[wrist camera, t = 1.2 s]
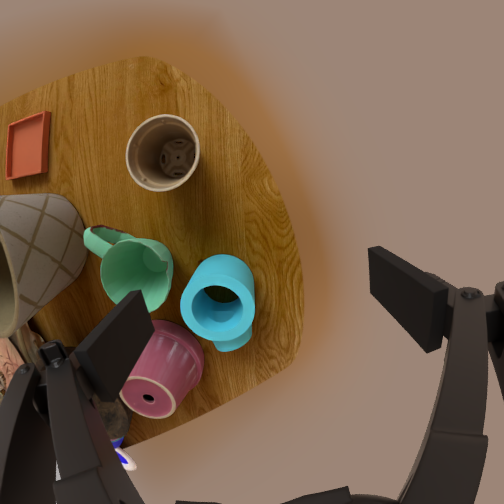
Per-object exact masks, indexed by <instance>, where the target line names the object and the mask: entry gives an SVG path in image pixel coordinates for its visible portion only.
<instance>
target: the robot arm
mask: <svg viewBox="0 0 504 504" xmlns="http://www.w3.org/2000/svg"><path fill="white" fill-rule="evenodd" d="M368 258H369V275H370V293H371V294H372V295H373V296H374V297H375V298H376V299H377V300H378V301H379V302H380V303H381V305H382V306H383V307H384V308H385V309H386V310H387V311H388V312H389V313H390V314H391V315H392V316H393V317H394V318H395V319H396V320H397V321H398V323H399V324H400V325H401V326H402V327H403V328H404V329H405V330H406V331H407V332H408V333H409V334H410V335H411V337H412V338H413V339H414V340H415V341H416V342H417V343H418V344H419V345H420V347H421V348H422V349H423V350H424V351H425V352H426V353H429V352H432V351H434V350H436V349H439V348H441V344H442V339H443V336H444V337H446V338H447V339H448V344H447V349H446V354H445V359H444V366H443V371H442V375H441V380H440V384H439V388H438V393H437V396H436V400H435V404H434V408H433V411H432V414H431V417H430V421H429V424H428V427H427V430H426V433H425V436H424V439H423V442H422V444H421V447H420V450H419V452H418V455H417V457H416V460H415V463H414V465H413V467H412V470H411V472H410V474H409V476H408V479H407V480H406V483H405V485H404V487H403V489H402V491H401V492H400V494H399V496H398V498H397V500H393V499H390V498H387V497H382V496H377V495H368V494H367V495H365V494H355V495H350V492H349V488H348V486H345V487H342V488H338V489H333V490H329V491H325V492H320V493H315V494H309V495H304V496H302V497H299V498H296V499H293V500H291V501H288V502H285V503H282V504H474V501H475V498H476V495H477V491H478V487H479V484H480V480H481V476H482V472H483V467H484V463H485V458H486V452H487V447H488V437H487V435H483V427H484V420H485V411H486V399H487V385H488V351H489V354H490V356H491V359H492V362H493V365H494V368H495V372H496V374H497V378H498V381H499V385H500V389H501V393H502V396H503V400H504V281H503V282H499V283H497V284H496V286H495V293H494V294H493V295H487V296H484V295H483V293H482V292H481V291H480V290H479V289H476V288H471V287H463V288H460V289H457V288H456V287H454V286H453V285H451V284H449V283H447V282H445V280H443V279H440V277H438V276H436V275H435V274H431V273H428V272H423V271H422V270H420V269H418V268H417V267H415V266H413V265H412V264H410V263H408V262H407V261H405V260H403V259H402V258H400V257H398V256H396V255H395V254H393V253H391V252H389V251H388V250H386V249H384V248H383V247H381V246H376V247H371V248H368ZM154 332H155V328H154V326H153V323H152V320H151V317H150V314H149V311H148V309H147V306H146V303H145V300H144V297H143V293H142V290H141V289H140V290H134V291H130V292H129V293H128V294H127V295H126V296H125V297H124V298H123V299H122V300H121V301H120V302H119V303H118V304H117V305H116V306H115V307H114V308H113V309H112V310H111V311H110V312H109V313H108V314H107V315H106V316H105V317H104V318H103V319H102V321H101V322H100V323H99V324H98V325H97V326H96V327H95V328H94V329H93V330H92V331H91V332H90V333H89V334H88V335H87V337H86V338H85V339H84V340H83V341H82V342H81V343H80V344H79V345H78V346H77V347H76V349H75V350H74V351H73V352H72V353H71V354H70V355H69V356H68V354H67V352H66V350H65V348H64V346H63V344H62V342H61V340H52V341H49V342H47V343H45V344H43V345H42V346H41V347H40V348H39V349H38V351H37V352H38V354H39V356H40V358H41V360H42V362H43V364H44V366H45V367H46V370H44V371H38V369H37V368H36V366H35V364H34V363H26V364H22V365H20V366H19V368H18V369H17V370H16V371H15V373H14V375H13V377H12V379H11V381H10V383H9V386H8V388H7V390H6V392H5V395H4V397H3V399H2V402H1V404H0V504H56V502H57V504H145V503H144V502H143V500H142V498H141V497H140V495H139V493H138V492H137V490H136V488H135V487H134V485H133V483H132V481H131V480H130V478H129V476H128V474H127V473H126V470H125V469H124V467H123V465H122V463H121V461H120V459H119V457H118V455H117V453H116V451H115V449H114V447H113V444H112V442H111V440H110V438H109V436H108V433H107V431H106V429H105V426H104V424H103V422H102V419H101V417H100V414H99V412H98V409H97V406H96V404H95V402H94V400H93V399H92V396H93V394H94V392H95V393H96V394H97V396H98V398H99V399H100V401H101V402H112V403H114V402H115V401H116V399H117V397H118V395H119V393H120V391H121V390H122V388H123V386H124V384H125V382H126V381H127V379H128V377H129V375H130V373H131V372H132V370H133V368H134V366H135V364H136V363H137V361H138V359H139V357H140V356H141V354H142V352H143V350H144V349H145V347H146V345H147V344H148V342H149V340H150V338H151V337H152V335H153V333H154ZM56 460H57V464H58V469H59V473H60V477H61V480H58V481H56ZM175 504H220V503H215V502H213V503H212V502H190V501H189V502H188V501H176V503H175Z"/></svg>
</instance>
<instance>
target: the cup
mask: <svg viewBox="0 0 504 504" xmlns="http://www.w3.org/2000/svg"><path fill="white" fill-rule="evenodd" d="M213 285H218V286H224V287H227V288H229V289H231V290H232V291H233V292H235V293H236V294H237V295H238V296H239V298H238V299H236V300H235V301H232V302H229V303H220V302H216V301H214V300H212V299H211V298H210V297H209V296H208V295H207V294H206V293H205V291H204V288H205V287H208V286H213ZM180 309H181V314H182V317H183V319H184V321H185V323H186V324H187V326H188V327H189V328H190V329H191V330H192V331H193V332H194V333H196V334H197V335H199V336H201V337H203V338H205V339H208V340H212V341H213V343H214V345H215V347H216V348H217V350H219V351H222V352H227V351H232V350H235V349H237V348H239V347H241V346H243V345H244V344H246V343H247V342H248V341H249V339H250V338H251V336H252V321H253V319H254V315H255V295H254V278H253V275H252V272H251V271H250V269H249V267H248V266H247V265H246V264H245V263H244V262H243V261H242V260H240V259H239V258H236V257H234V256H231V255H225V254H220V255H214V256H211V257H209V258H207V259H205V260H204V261H203V262H202V263H201V264H200V265H199V266H198V268H197V269H196V271H195V273H194V274H193V276H192V278H191V280H190V281H189V283H188V285H187V286H186V288H185V290H184V292H183V294H182V297H181V301H180Z"/></svg>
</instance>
